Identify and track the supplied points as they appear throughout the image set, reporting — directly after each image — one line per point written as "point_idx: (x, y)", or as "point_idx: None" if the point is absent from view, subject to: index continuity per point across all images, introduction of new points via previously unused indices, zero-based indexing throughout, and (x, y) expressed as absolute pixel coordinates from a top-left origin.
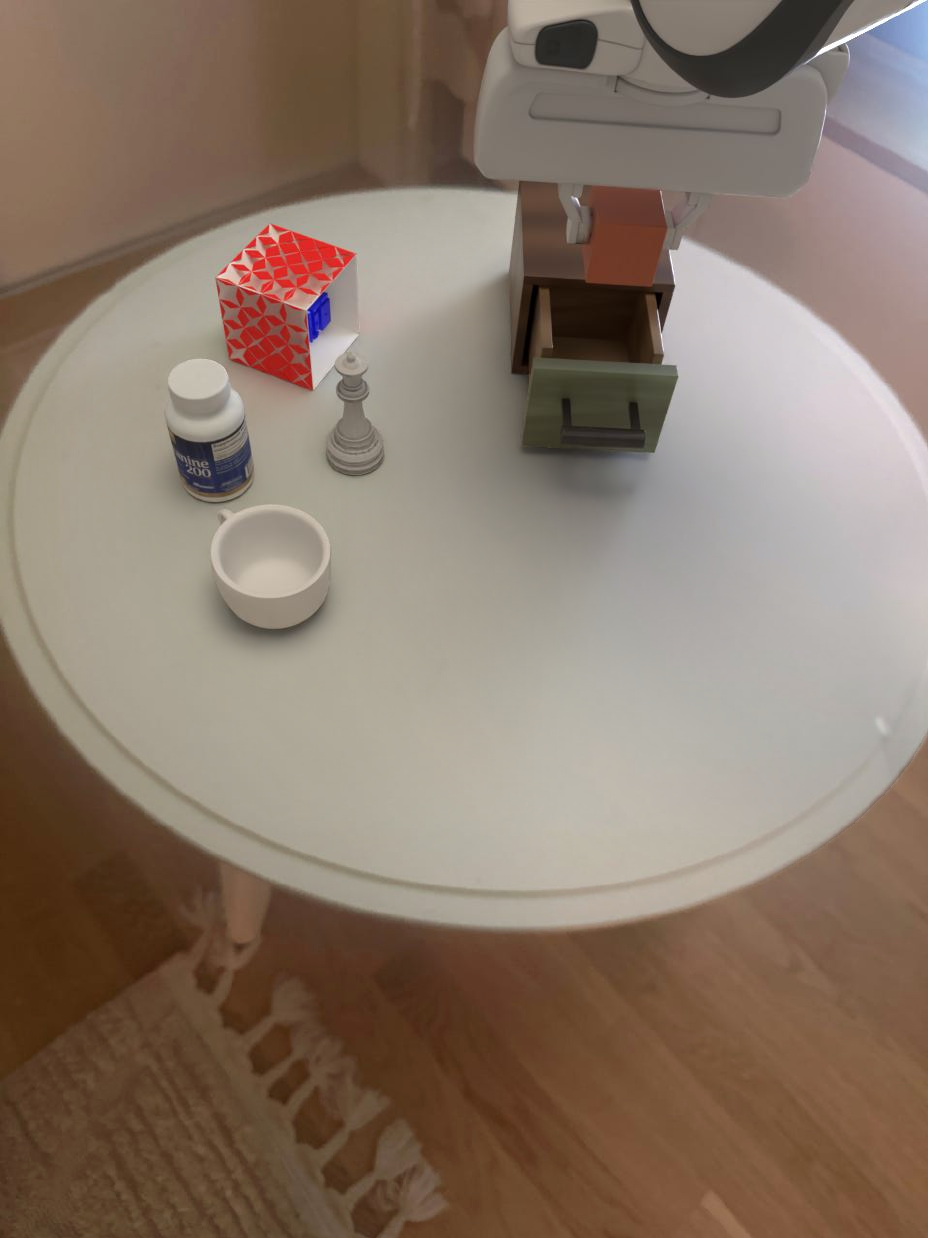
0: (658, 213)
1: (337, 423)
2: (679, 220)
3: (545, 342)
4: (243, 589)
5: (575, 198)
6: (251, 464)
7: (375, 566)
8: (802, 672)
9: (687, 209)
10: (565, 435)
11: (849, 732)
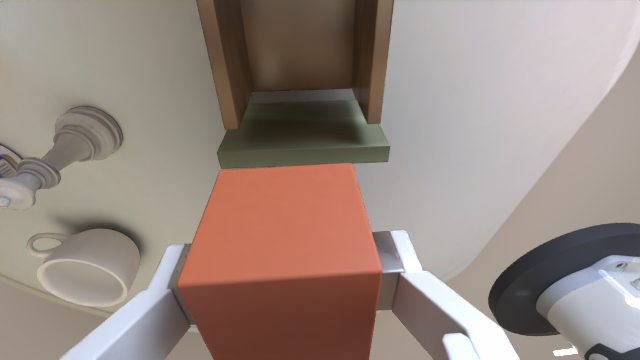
0: (356, 341)
1: (54, 144)
2: (404, 320)
3: (227, 121)
4: (86, 304)
5: (147, 336)
6: (13, 176)
7: (162, 219)
8: (420, 251)
9: (427, 338)
10: None
11: (431, 272)
